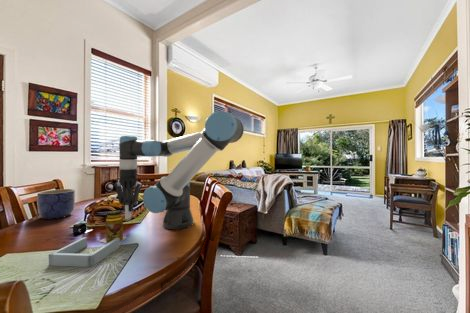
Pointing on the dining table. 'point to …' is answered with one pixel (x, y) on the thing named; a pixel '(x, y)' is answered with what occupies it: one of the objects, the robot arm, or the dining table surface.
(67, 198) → the planter
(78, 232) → the black angular block
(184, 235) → the dining table surface
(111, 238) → the condiment
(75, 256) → the bay
